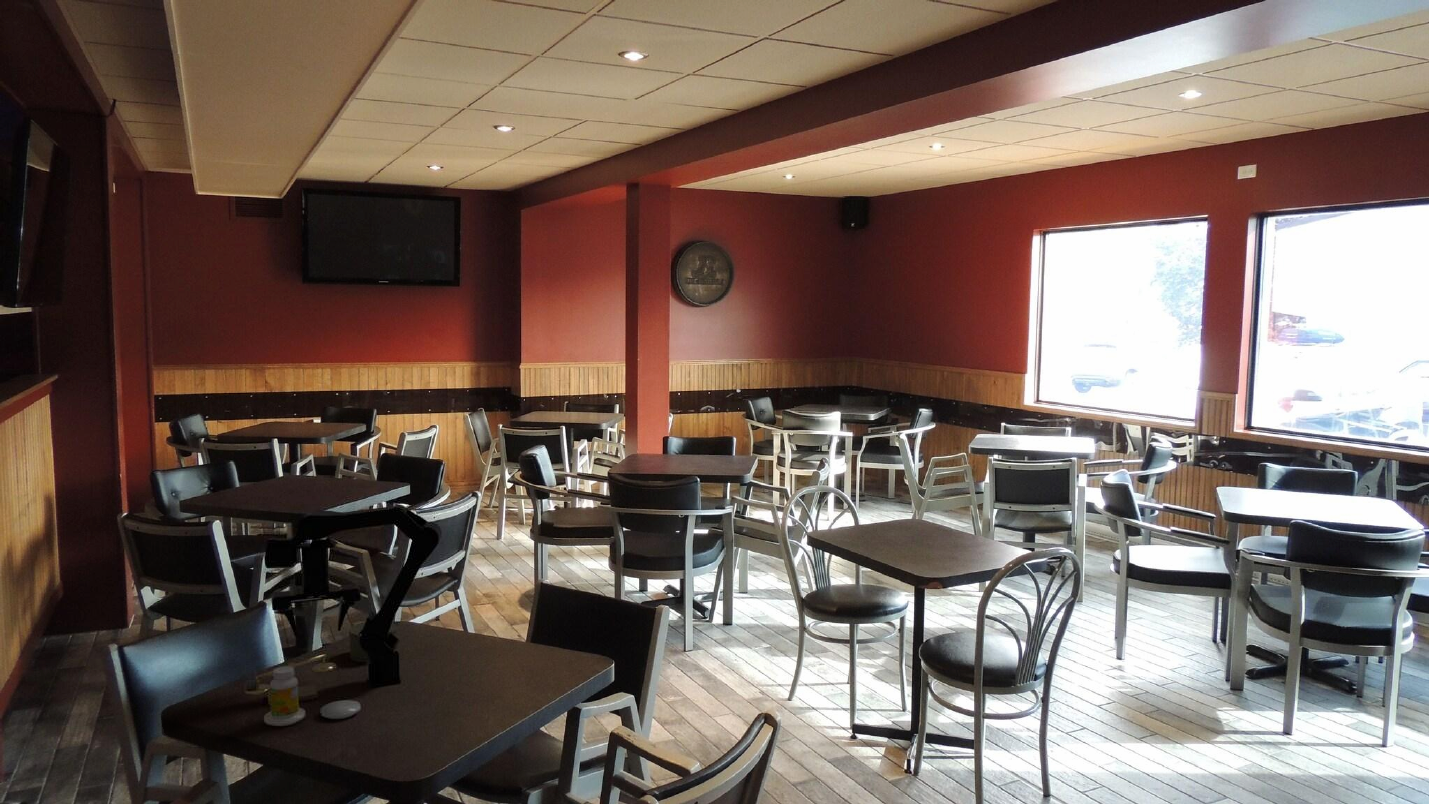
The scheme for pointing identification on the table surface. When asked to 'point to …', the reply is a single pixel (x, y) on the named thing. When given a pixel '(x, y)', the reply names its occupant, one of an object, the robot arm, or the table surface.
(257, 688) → the balance
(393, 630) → the can
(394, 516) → the robot arm
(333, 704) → the dish
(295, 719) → the dish
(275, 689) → the supplement bottle
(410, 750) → the table surface
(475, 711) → the table surface
